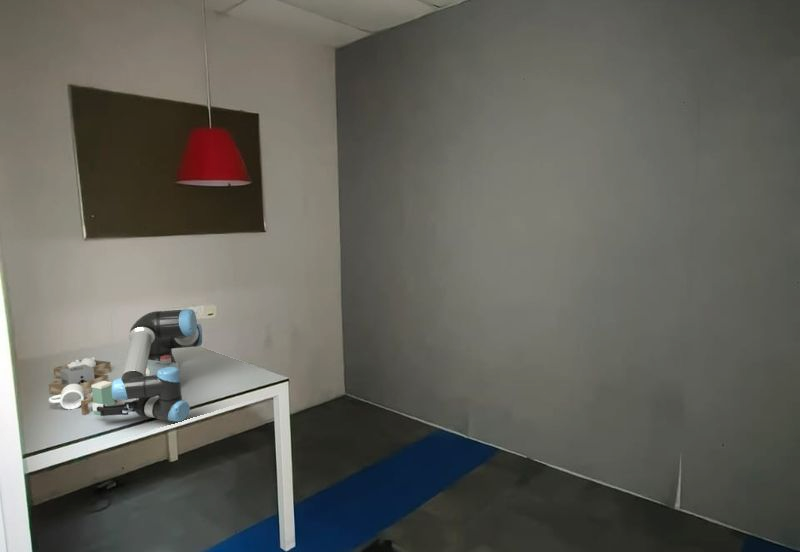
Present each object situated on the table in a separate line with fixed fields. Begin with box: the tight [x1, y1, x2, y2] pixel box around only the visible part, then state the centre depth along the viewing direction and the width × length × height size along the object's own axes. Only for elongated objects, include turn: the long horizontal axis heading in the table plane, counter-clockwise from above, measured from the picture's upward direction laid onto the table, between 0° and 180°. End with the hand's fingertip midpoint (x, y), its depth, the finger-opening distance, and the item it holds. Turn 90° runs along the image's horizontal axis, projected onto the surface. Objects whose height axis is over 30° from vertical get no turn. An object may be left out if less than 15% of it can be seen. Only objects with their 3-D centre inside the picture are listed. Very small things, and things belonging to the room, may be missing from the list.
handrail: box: [80, 396, 118, 416], centre depth 203 cm, size 27×2×6 cm, turn 160°
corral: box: [48, 358, 112, 396], centre depth 229 cm, size 32×36×5 cm
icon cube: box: [60, 364, 95, 385], centre depth 217 cm, size 10×10×10 cm
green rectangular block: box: [91, 380, 116, 417], centre depth 191 cm, size 5×5×12 cm
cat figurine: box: [67, 356, 96, 368], centre depth 242 cm, size 9×11×12 cm
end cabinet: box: [145, 360, 180, 376], centre depth 217 cm, size 7×18×12 cm, turn 70°
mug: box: [48, 384, 85, 411], centre depth 199 cm, size 12×10×8 cm
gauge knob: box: [160, 355, 171, 365], centre depth 215 cm, size 3×3×3 cm
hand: (109, 400), depth 189 cm, fingers open, 13 cm apart
